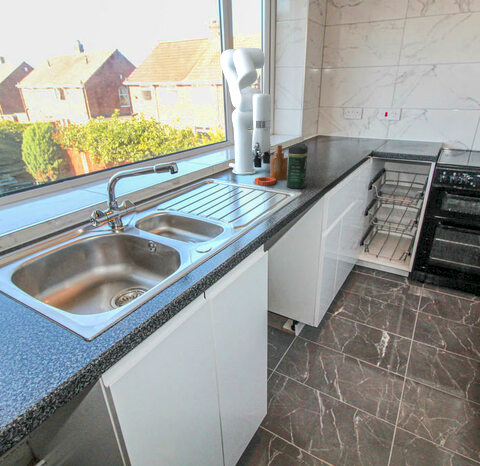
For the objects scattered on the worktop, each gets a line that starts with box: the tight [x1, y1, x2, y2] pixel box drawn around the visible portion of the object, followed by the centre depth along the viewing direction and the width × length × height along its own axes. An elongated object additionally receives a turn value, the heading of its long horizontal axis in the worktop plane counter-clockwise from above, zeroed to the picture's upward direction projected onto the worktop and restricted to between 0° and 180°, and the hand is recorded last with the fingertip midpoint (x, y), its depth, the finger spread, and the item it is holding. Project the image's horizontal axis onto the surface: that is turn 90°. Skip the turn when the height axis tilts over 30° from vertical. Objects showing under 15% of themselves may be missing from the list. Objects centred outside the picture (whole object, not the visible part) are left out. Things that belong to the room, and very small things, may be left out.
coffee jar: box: [286, 143, 309, 190], centre depth 144 cm, size 10×8×19 cm
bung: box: [254, 176, 277, 186], centre depth 153 cm, size 10×10×2 cm
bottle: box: [269, 144, 288, 181], centre depth 158 cm, size 8×8×16 cm
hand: (262, 165), depth 146 cm, fingers open, 9 cm apart
